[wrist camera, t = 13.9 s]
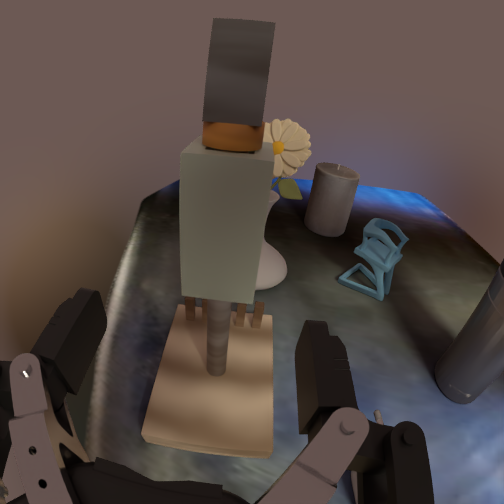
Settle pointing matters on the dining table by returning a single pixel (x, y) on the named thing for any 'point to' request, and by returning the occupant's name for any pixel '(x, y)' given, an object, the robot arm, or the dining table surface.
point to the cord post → (215, 311)
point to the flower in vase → (281, 189)
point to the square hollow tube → (223, 220)
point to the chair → (376, 258)
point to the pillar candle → (331, 199)
